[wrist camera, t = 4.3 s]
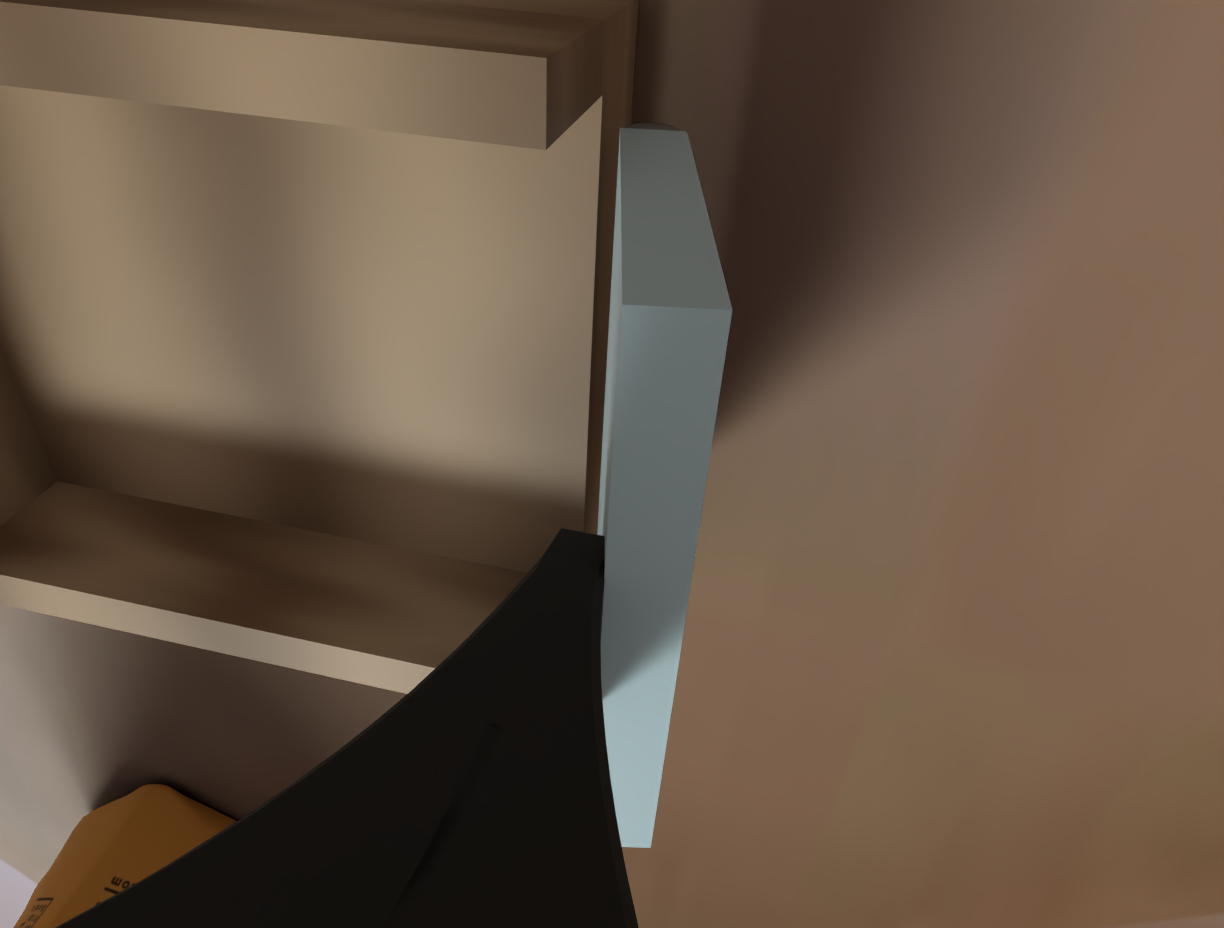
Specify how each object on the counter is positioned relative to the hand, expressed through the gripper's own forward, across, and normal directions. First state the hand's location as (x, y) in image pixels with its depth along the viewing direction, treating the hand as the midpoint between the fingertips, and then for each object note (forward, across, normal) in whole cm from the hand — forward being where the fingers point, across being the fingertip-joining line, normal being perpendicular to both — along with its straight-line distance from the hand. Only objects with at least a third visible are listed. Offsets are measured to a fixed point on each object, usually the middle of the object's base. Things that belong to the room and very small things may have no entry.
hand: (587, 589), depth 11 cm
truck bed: (+8, +8, 0) cm, 11 cm away
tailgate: (+5, 0, 0) cm, 5 cm away
